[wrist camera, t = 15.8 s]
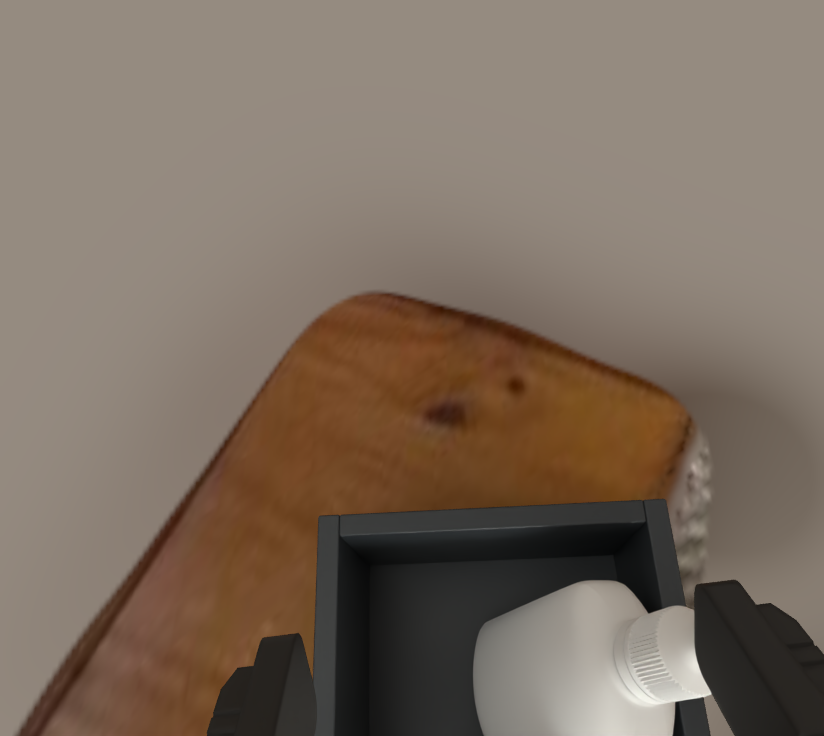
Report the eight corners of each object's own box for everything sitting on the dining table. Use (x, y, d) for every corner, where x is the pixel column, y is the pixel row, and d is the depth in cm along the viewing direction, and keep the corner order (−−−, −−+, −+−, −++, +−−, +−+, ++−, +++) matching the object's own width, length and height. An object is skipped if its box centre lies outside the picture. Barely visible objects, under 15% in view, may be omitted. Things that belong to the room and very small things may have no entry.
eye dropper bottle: (569, 654, 29) (795, 586, 20) (537, 795, 26) (793, 793, 16) (484, 604, 29) (673, 511, 19) (439, 740, 25) (643, 707, 16)
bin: (352, 876, 26) (303, 947, 19) (355, 551, 32) (318, 515, 25) (679, 875, 25) (751, 949, 18) (625, 539, 31) (666, 498, 24)
